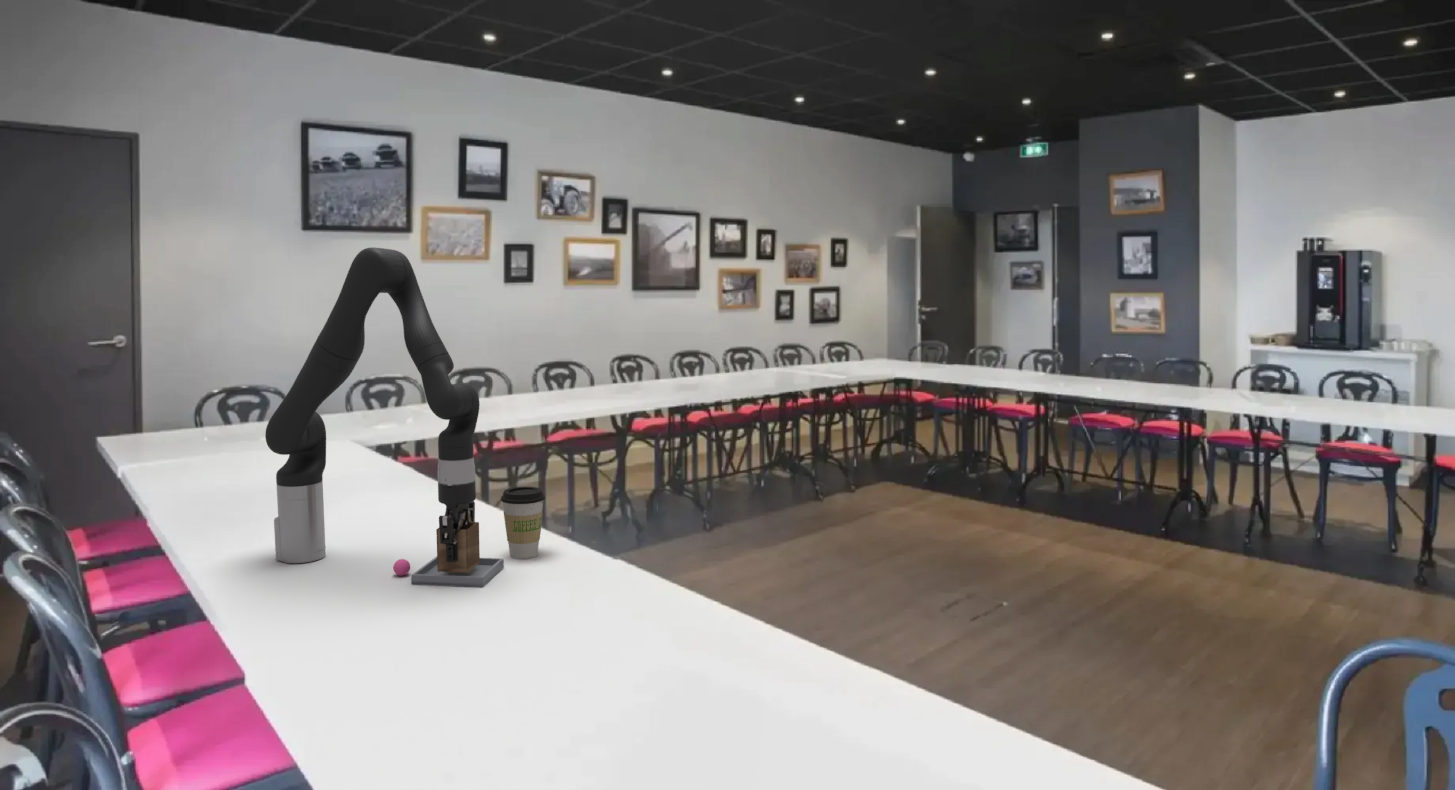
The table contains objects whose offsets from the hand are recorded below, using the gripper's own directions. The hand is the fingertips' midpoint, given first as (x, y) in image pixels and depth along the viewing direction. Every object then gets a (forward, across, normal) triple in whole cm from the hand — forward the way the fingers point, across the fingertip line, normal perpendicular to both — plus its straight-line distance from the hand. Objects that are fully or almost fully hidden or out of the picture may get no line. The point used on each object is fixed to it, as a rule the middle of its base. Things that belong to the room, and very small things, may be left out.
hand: (458, 556), depth 186 cm
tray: (+4, 0, 0) cm, 4 cm away
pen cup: (+2, 0, 0) cm, 2 cm away
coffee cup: (+4, -16, +9) cm, 19 cm away
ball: (+3, +1, -12) cm, 12 cm away
